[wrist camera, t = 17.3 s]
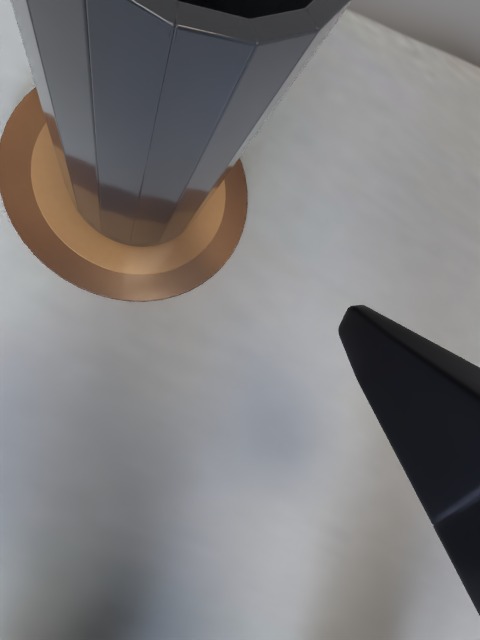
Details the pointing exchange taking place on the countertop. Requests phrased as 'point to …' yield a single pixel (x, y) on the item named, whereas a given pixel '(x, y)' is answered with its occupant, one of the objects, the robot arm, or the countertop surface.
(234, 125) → the grey metal tumbler
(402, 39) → the countertop surface
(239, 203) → the trivet
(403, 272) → the countertop surface
